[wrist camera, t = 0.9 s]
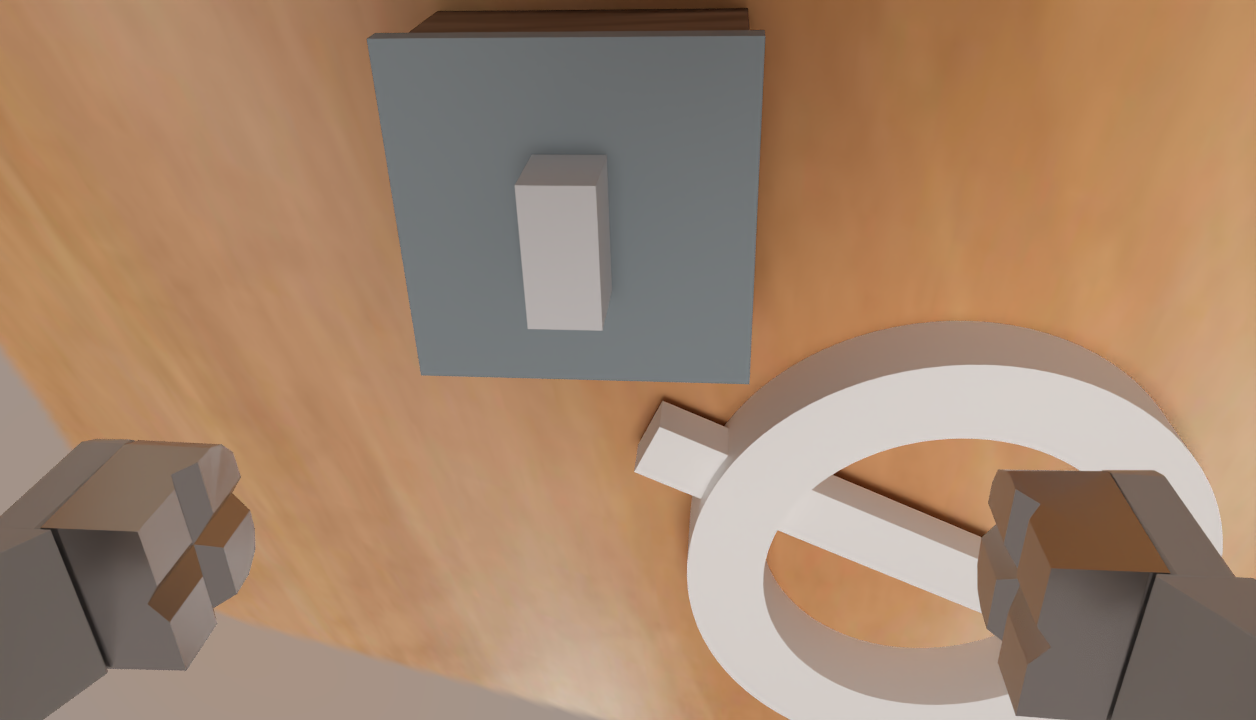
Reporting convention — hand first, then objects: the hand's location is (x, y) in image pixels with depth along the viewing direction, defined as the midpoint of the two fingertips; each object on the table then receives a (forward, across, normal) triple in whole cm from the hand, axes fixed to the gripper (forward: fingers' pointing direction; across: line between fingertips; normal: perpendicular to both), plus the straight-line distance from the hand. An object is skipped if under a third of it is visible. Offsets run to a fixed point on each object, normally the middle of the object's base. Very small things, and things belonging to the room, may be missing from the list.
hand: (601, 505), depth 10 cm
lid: (+30, +5, +7) cm, 31 cm away
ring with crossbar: (+38, -14, +30) cm, 50 cm away
